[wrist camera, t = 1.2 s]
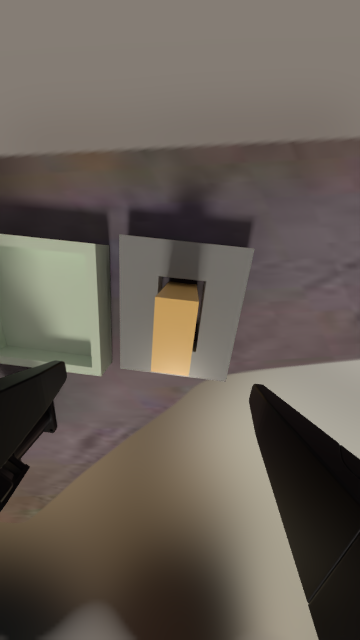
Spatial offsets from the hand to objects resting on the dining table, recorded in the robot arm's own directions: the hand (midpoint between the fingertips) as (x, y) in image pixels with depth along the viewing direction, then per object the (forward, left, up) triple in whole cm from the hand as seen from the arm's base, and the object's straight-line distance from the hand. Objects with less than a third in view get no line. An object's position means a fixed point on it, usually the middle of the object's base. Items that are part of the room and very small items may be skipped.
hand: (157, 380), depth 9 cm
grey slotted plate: (0, 0, -13) cm, 13 cm away
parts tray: (-1, +15, -13) cm, 20 cm away
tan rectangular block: (0, 0, -13) cm, 13 cm away
